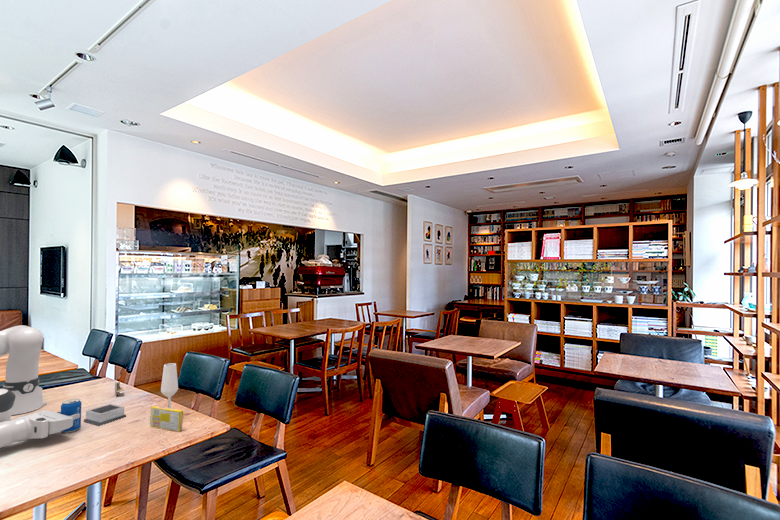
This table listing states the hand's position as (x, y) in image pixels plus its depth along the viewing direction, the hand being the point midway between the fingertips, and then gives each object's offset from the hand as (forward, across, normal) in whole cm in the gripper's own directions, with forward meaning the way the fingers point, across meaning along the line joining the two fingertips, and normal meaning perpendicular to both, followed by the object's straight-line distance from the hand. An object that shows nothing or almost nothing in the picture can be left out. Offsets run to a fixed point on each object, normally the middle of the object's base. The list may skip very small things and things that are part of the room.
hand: (73, 413), depth 158 cm
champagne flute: (+24, +25, -7) cm, 35 cm away
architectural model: (+34, -29, -7) cm, 45 cm away
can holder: (+12, 0, -6) cm, 14 cm away
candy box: (+17, +33, -7) cm, 38 cm away
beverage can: (-1, 0, -7) cm, 7 cm away
